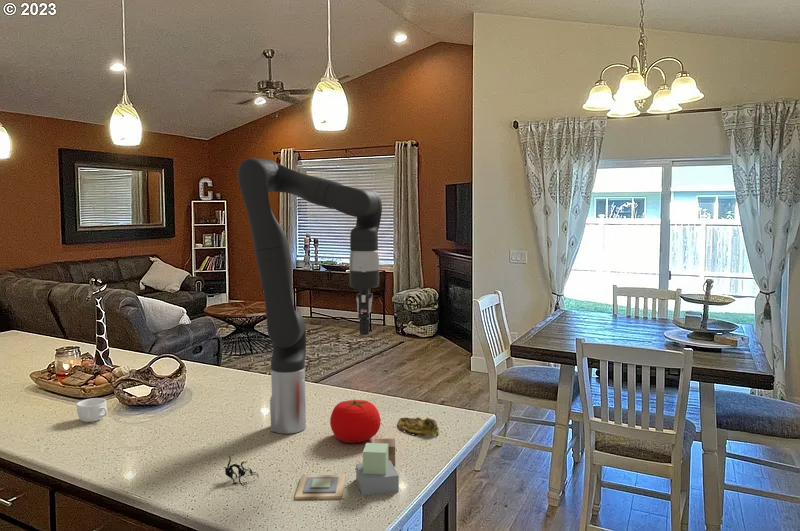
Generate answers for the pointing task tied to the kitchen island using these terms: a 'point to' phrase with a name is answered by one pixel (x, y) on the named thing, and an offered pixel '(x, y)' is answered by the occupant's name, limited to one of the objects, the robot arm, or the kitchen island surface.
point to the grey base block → (377, 481)
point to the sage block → (375, 458)
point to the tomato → (355, 421)
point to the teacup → (92, 409)
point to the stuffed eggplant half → (419, 426)
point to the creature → (229, 473)
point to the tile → (321, 487)
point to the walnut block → (389, 448)
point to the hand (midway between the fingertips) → (364, 331)
